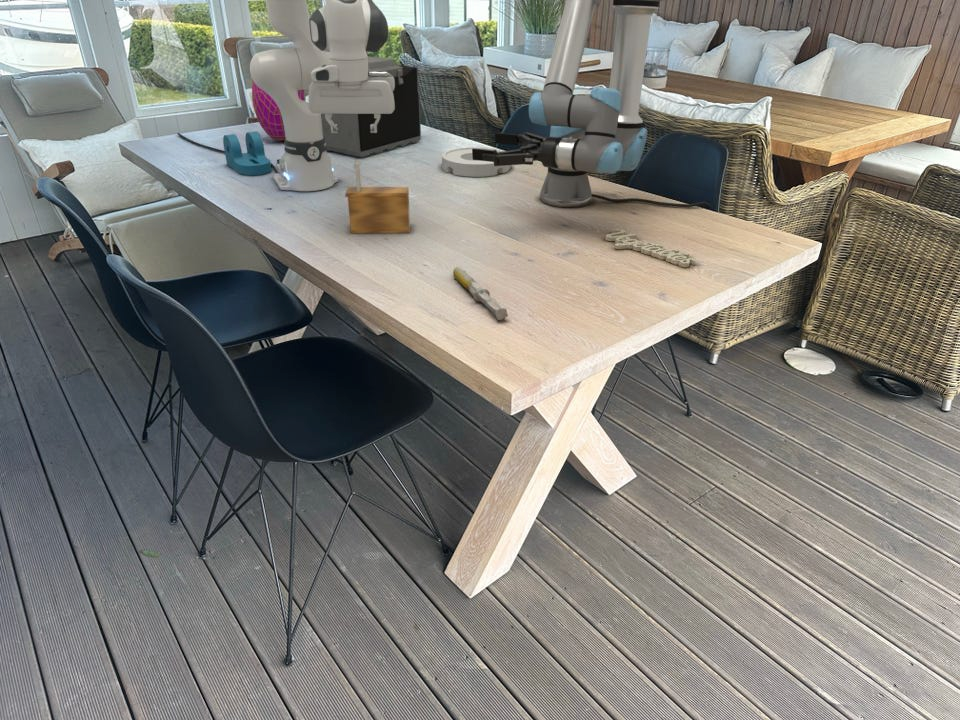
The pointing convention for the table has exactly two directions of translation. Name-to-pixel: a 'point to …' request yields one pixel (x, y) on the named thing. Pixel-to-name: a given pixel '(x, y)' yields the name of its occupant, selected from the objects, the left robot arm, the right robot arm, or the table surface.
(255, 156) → the camera mount
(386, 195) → the lid
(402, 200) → the chest
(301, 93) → the decorative egg
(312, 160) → the left robot arm
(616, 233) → the decorative sign
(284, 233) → the table surface
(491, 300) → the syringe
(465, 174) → the ashtray
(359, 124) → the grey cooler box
